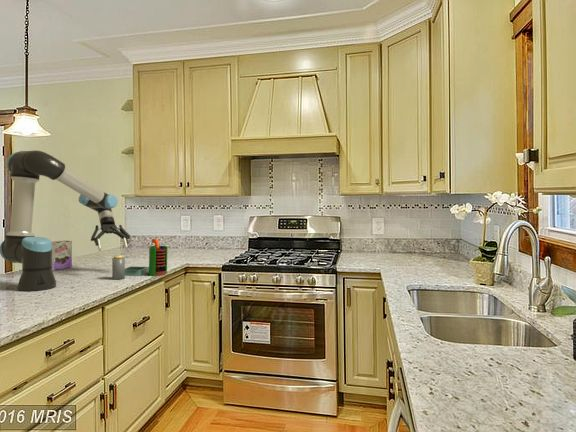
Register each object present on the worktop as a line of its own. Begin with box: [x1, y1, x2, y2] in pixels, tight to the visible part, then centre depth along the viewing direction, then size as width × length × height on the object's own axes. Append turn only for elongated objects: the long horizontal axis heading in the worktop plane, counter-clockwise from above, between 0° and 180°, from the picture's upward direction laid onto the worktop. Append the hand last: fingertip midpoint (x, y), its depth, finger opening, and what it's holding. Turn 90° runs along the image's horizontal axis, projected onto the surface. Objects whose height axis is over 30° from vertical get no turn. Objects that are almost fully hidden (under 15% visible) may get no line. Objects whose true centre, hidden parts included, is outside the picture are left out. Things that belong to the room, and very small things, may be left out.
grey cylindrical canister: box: [111, 254, 126, 281], centre depth 203 cm, size 6×6×12 cm
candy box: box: [51, 240, 73, 272], centre depth 226 cm, size 14×6×16 cm, turn 160°
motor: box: [148, 238, 168, 277], centre depth 216 cm, size 10×9×20 cm
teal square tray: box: [125, 266, 149, 277], centre depth 217 cm, size 11×12×3 cm
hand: (113, 249), depth 211 cm, fingers open, 13 cm apart
